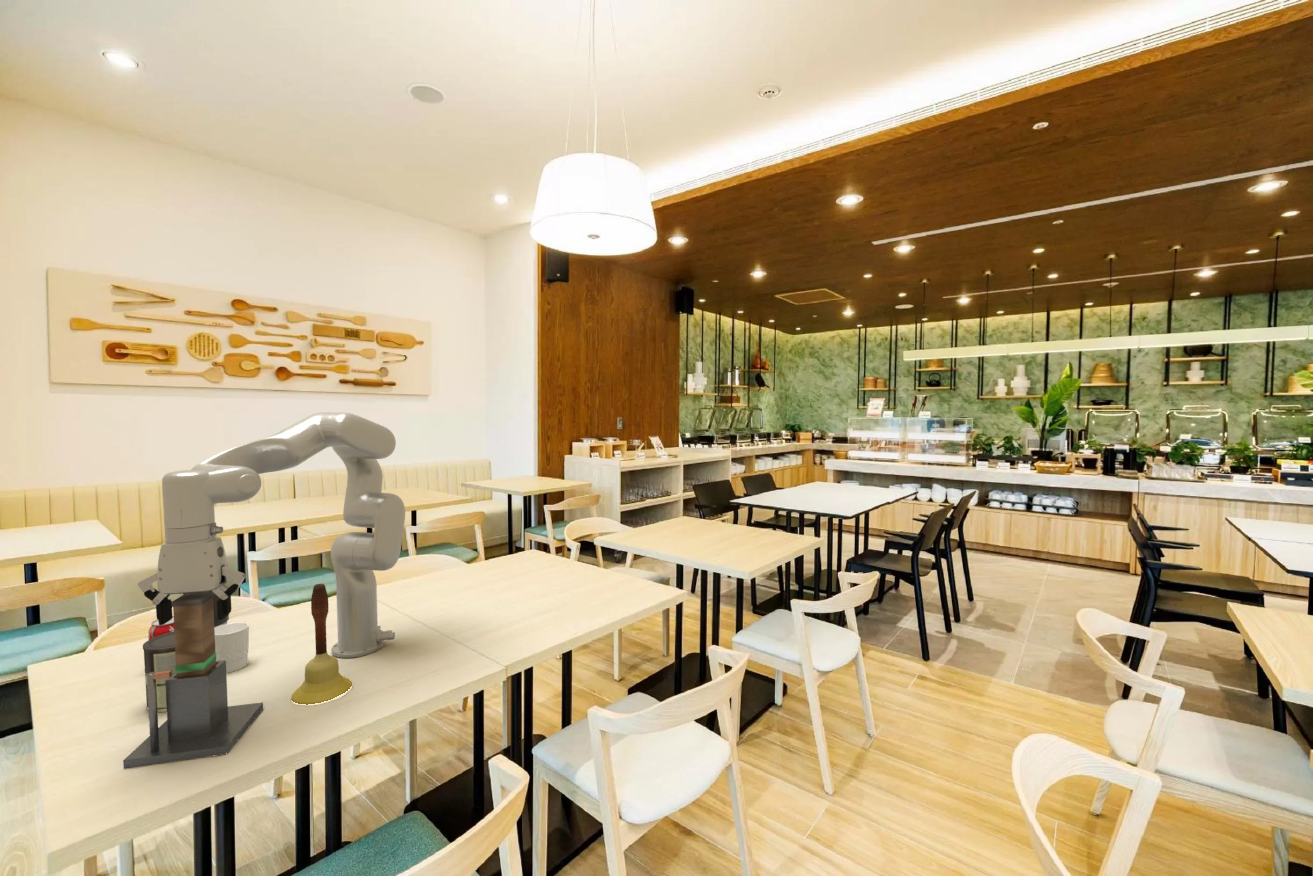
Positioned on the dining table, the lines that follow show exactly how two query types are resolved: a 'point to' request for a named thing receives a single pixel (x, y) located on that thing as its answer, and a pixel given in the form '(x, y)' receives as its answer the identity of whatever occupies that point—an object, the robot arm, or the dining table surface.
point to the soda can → (160, 628)
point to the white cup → (232, 645)
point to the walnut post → (194, 634)
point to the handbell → (321, 660)
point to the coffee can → (160, 664)
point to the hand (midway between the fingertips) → (195, 619)
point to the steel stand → (192, 719)
